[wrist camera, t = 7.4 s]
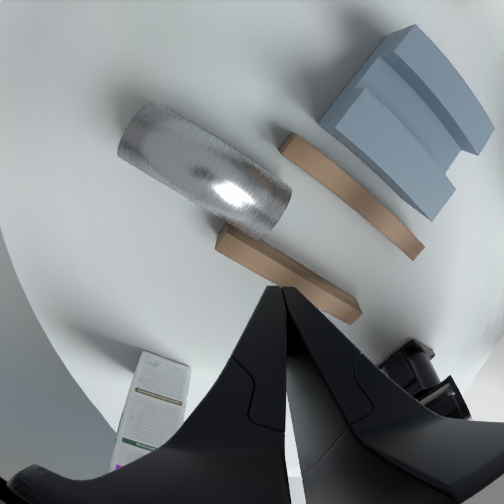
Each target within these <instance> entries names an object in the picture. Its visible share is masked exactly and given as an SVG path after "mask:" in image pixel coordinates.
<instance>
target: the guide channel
mask: <svg viewBox="0 0 504 504" xmlns="http://www.w3.org/2000/svg"><path fill="white" fill-rule="evenodd" d="M279 152H280V153H281V155H283V156H284V157H286V158H287V159H288V160H290V161H291V162H293V163H294V164H295V165H297V166H298V167H300V168H301V169H302V170H304V171H305V172H307V173H308V174H309V175H311V176H312V177H313V178H315V179H316V180H317V181H319V182H320V183H321V184H323V185H324V186H325V187H327V188H328V189H329V190H330V191H332V192H333V193H334V194H336V195H337V196H338V197H339V198H341V199H342V200H343V201H344V202H346V203H347V204H348V205H349V206H351V207H352V208H353V209H354V210H356V211H357V212H358V213H359V214H360V215H362V216H363V217H364V218H365V219H366V220H368V221H369V222H370V223H371V224H372V225H373V226H375V227H376V228H377V229H378V230H379V231H380V232H382V233H383V234H384V235H385V236H386V237H387V238H388V239H389V240H391V241H392V242H393V243H394V244H395V245H396V246H397V247H398V248H399V249H400V250H402V251H403V252H404V253H405V254H406V255H407V256H408V257H409V258H410V259H411V260H412V261H413V260H414V259H415V258H416V257H417V256H418V255H419V253H420V252H421V251H422V250H423V249H424V248H425V246H424V245H423V244H422V243H421V242H420V241H419V240H418V239H417V238H416V237H415V236H414V235H413V234H412V233H411V232H410V231H409V230H408V229H407V228H406V227H405V226H404V225H403V224H402V223H401V222H400V221H399V220H398V219H397V218H396V217H395V216H394V215H393V214H392V213H391V212H390V211H389V210H388V209H386V208H385V207H384V206H383V205H382V204H381V203H380V202H379V201H378V200H377V199H376V198H375V197H373V196H372V195H371V194H370V193H369V192H368V191H367V190H366V189H364V188H363V187H362V186H361V185H360V184H359V183H357V182H356V181H355V180H354V179H353V178H352V177H350V176H349V175H348V174H347V173H346V172H344V171H343V170H342V169H341V168H340V167H338V166H337V165H336V164H335V163H333V162H332V161H331V160H330V159H328V158H327V157H326V156H324V155H323V154H322V153H321V152H319V151H318V150H317V149H315V148H314V147H313V146H311V145H310V144H309V143H307V142H306V141H305V140H303V139H302V138H300V137H299V136H298V135H296V134H294V133H292V132H291V134H290V135H289V136H288V138H287V139H286V140H285V142H284V143H283V144H282V146H281V147H280V149H279ZM215 250H216V251H218V252H220V253H221V254H223V255H225V256H227V257H229V258H230V259H232V260H234V261H236V262H237V263H239V264H241V265H243V266H244V267H246V268H248V269H250V270H251V271H253V272H255V273H257V274H259V275H260V276H262V277H264V278H266V279H267V280H269V281H271V282H273V283H275V284H276V285H278V286H280V287H282V286H295V287H296V288H297V289H298V290H299V291H300V292H301V293H302V294H303V295H304V296H305V297H306V298H307V299H308V300H309V301H310V302H311V303H312V304H313V305H314V306H316V307H318V308H320V309H322V310H323V311H325V312H327V313H329V314H331V315H333V316H334V317H336V318H338V319H340V320H342V321H344V322H346V323H347V324H349V325H351V324H352V323H353V322H354V321H355V320H356V319H357V318H358V317H359V316H360V315H362V314H363V313H362V311H361V309H360V307H359V305H358V303H357V300H356V299H355V298H354V297H352V296H351V295H349V294H347V293H346V292H344V291H343V290H341V289H339V288H338V287H336V286H335V285H333V284H331V283H330V282H328V281H327V280H325V279H323V278H322V277H320V276H319V275H317V274H315V273H314V272H312V271H311V270H309V269H307V268H306V267H304V266H302V265H301V264H299V263H298V262H296V261H294V260H293V259H291V258H289V257H288V256H286V255H285V254H283V253H281V252H280V251H278V250H276V249H275V248H273V247H272V246H270V245H268V244H267V243H265V242H263V241H262V240H255V239H253V238H252V237H250V236H248V235H247V234H245V233H243V232H242V231H240V230H239V229H237V228H235V227H234V226H232V225H230V224H229V223H226V225H225V226H224V228H223V229H222V231H221V232H220V234H219V235H218V237H217V241H216V245H215Z"/></svg>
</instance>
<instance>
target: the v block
mask: <svg viewBox="0 0 504 504" xmlns="http://www.w3.org/2000/svg"><path fill="white" fill-rule="evenodd" d="M317 124H318V125H320V126H321V127H322V128H323V129H325V130H326V131H327V132H329V133H330V134H331V135H332V136H334V137H335V138H336V139H337V140H339V141H340V142H341V143H342V144H343V145H345V146H346V147H347V148H348V149H349V150H351V151H352V152H353V153H354V154H355V155H356V156H357V157H359V158H360V159H361V160H362V161H363V162H364V163H365V164H366V165H368V166H369V167H370V168H371V169H372V170H373V171H374V172H375V173H376V174H377V175H378V176H380V177H381V178H382V179H383V180H384V181H385V182H386V183H387V184H388V185H389V186H390V187H391V188H392V189H393V190H394V191H395V192H396V193H397V194H398V195H399V196H400V197H401V198H402V199H403V200H404V201H405V202H406V203H408V204H409V205H411V206H412V207H413V208H415V209H416V210H417V211H419V212H420V213H421V214H423V215H424V216H425V217H426V218H428V219H429V220H430V221H433V219H434V218H435V217H436V215H437V214H438V213H439V211H440V210H441V209H442V208H443V206H444V205H445V204H446V202H447V201H448V199H449V198H450V197H451V195H452V194H453V193H454V191H455V190H456V189H455V187H454V186H453V185H452V183H451V182H450V181H449V179H448V178H447V176H446V175H445V173H446V171H447V170H448V168H449V167H450V165H451V164H452V163H453V161H454V160H455V158H456V157H457V155H458V154H459V152H460V151H461V150H464V151H467V152H469V153H472V154H475V155H479V154H480V152H481V151H482V149H483V147H484V146H485V144H486V142H487V141H488V139H489V137H490V136H491V134H492V132H493V130H494V129H495V128H494V126H493V124H492V122H491V121H490V119H489V117H488V116H487V114H486V112H485V111H484V109H483V108H482V106H481V104H480V103H479V101H478V100H477V98H476V97H475V95H474V94H473V92H472V91H471V89H470V88H469V87H468V85H467V84H466V82H465V81H464V80H463V78H462V77H461V76H460V74H459V73H458V72H457V70H456V69H455V68H454V67H453V65H452V64H451V63H450V62H449V60H448V59H447V58H446V57H445V56H444V55H443V53H442V52H441V51H440V50H439V49H438V48H437V47H436V45H435V44H434V43H433V42H432V41H431V40H430V39H429V38H428V37H427V36H426V35H425V34H424V33H423V32H422V31H421V30H420V29H419V28H418V27H417V26H416V25H412V26H409V27H407V28H404V29H402V30H399V31H397V32H394V33H392V34H390V35H387V36H386V37H385V38H384V40H383V41H382V42H381V43H380V44H379V46H378V47H377V48H376V49H375V51H374V52H373V53H372V54H371V56H370V57H369V58H368V59H367V61H366V62H365V63H364V64H363V66H362V67H361V68H360V69H359V71H358V72H357V73H356V74H355V76H354V77H353V78H352V79H351V81H350V82H349V83H348V84H347V86H346V87H345V88H344V90H343V91H342V92H341V93H340V95H339V96H338V97H337V99H336V100H335V101H334V102H333V104H332V105H331V106H330V108H329V109H328V110H327V111H326V113H325V114H324V115H323V117H322V118H321V119H320V121H319V122H318V123H317Z"/></svg>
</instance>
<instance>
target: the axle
mask: <svg viewBox="0 0 504 504" xmlns="http://www.w3.org/2000/svg"><path fill="white" fill-rule="evenodd" d="M118 157H119V158H121V159H123V160H124V161H126V162H128V163H129V164H131V165H133V166H134V167H136V168H138V169H140V170H141V171H143V172H145V173H146V174H148V175H150V176H151V177H153V178H155V179H156V180H158V181H160V182H161V183H163V184H165V185H166V186H168V187H170V188H171V189H173V190H175V191H176V192H178V193H180V194H181V195H183V196H184V197H186V198H188V199H189V200H191V201H193V202H194V203H196V204H198V205H199V206H201V207H203V208H204V209H206V210H208V211H209V212H211V213H212V214H214V215H216V216H217V217H219V218H221V219H222V220H224V221H226V222H227V223H229V224H230V225H232V226H234V227H235V228H237V229H239V230H240V231H242V232H243V233H245V234H247V235H248V236H250V237H252V238H253V239H255V240H260V239H262V238H263V237H264V236H266V235H267V234H268V233H269V232H270V231H271V229H272V228H273V227H274V226H275V225H276V223H277V222H278V221H279V219H280V218H281V216H282V214H283V213H284V211H285V209H286V207H287V205H288V203H289V201H290V198H291V194H292V188H291V187H290V186H288V185H287V184H286V183H284V182H283V181H281V180H280V179H278V178H277V177H276V176H274V175H273V174H271V173H270V172H268V171H267V170H265V169H264V168H262V167H261V166H259V165H258V164H256V163H255V162H253V161H252V160H250V159H249V158H247V157H246V156H244V155H243V154H241V153H240V152H238V151H237V150H235V149H233V148H232V147H230V146H229V145H227V144H225V143H224V142H222V141H221V140H219V139H217V138H216V137H214V136H213V135H211V134H209V133H208V132H206V131H204V130H203V129H201V128H199V127H198V126H196V125H194V124H193V123H191V122H189V121H187V120H186V119H184V118H182V117H180V116H179V115H177V114H175V113H173V112H172V111H170V110H168V109H166V108H164V107H163V106H161V105H159V104H157V103H155V102H150V103H148V104H146V105H145V106H144V107H142V108H141V109H140V110H139V112H138V113H137V114H136V115H135V116H134V117H133V119H132V120H131V122H130V123H129V125H128V126H127V128H126V130H125V132H124V133H123V136H122V138H121V140H120V143H119V146H118Z"/></svg>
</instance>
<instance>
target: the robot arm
mask: <svg viewBox="0 0 504 504" xmlns="http://www.w3.org/2000/svg"><path fill="white" fill-rule="evenodd" d="M434 356H435V353H434V352H433V351H432V350H430V349H429V348H427V347H425V346H424V345H422V344H421V343H419V342H417V341H416V340H411V341H410V342H409V343H408V344H406V345H405V346H404V347H403V348H402V349H401V350H399V351H398V352H397V353H396V354H395V355H394V356H392V357H391V358H390V359H389V360H388V361H386V362H385V363H384V364H383V365H381V366H380V367H379V368H378V367H376V366H375V365H374V364H373V363H372V362H371V361H370V360H369V359H368V358H367V357H366V356H365V355H364V354H363V353H361V351H360V350H359V349H358V348H357V347H356V346H355V345H354V344H353V343H352V342H351V341H350V340H349V339H348V338H347V337H346V336H345V335H344V334H343V333H342V332H341V331H340V330H339V329H338V328H337V327H336V326H335V325H334V324H333V323H332V322H331V321H330V320H329V319H328V318H327V317H326V316H325V315H323V314H322V313H321V312H320V311H319V310H318V309H317V308H316V307H315V306H314V305H313V304H312V303H311V302H310V301H309V300H308V299H307V298H306V297H305V296H304V295H303V294H302V293H301V292H300V291H299V290H298V289H297V288H296V287H295V286H282V287H280V286H267V287H266V288H265V290H264V292H263V294H262V296H261V298H260V300H259V302H258V304H257V306H256V308H255V310H254V312H253V314H252V316H251V318H250V320H249V322H248V324H247V326H246V328H245V329H244V331H243V333H242V335H241V337H240V339H239V341H238V343H237V345H236V347H235V349H234V350H233V352H232V354H231V357H230V358H229V360H228V361H227V363H226V365H225V367H224V369H223V370H222V372H221V374H220V375H219V377H218V379H217V380H216V382H215V383H214V385H213V386H212V388H211V389H210V390H209V392H208V393H207V394H206V396H205V397H204V398H203V400H202V401H201V402H200V403H199V405H198V406H197V407H196V408H195V410H194V411H193V412H192V413H191V415H190V416H189V417H188V418H187V419H186V421H185V422H184V423H183V424H182V426H181V427H180V428H179V429H178V430H177V431H176V433H175V434H174V435H173V436H172V437H171V438H170V439H169V440H168V441H166V442H165V443H164V444H163V445H161V446H160V447H158V448H157V449H155V450H153V451H151V452H149V453H148V454H146V455H144V456H142V457H140V458H138V459H136V460H134V461H132V462H130V463H128V464H126V465H124V466H122V467H120V468H118V469H116V470H114V471H111V472H109V473H107V474H105V475H103V476H100V477H97V478H94V479H89V480H72V479H69V478H65V477H63V476H61V475H59V474H56V473H54V472H52V471H50V470H47V469H46V468H43V467H41V466H39V465H35V464H34V465H31V466H30V467H27V468H25V469H24V470H21V471H19V472H18V473H16V474H15V475H14V476H13V477H12V478H11V479H10V480H9V481H7V480H5V479H4V478H2V477H1V476H0V504H291V497H290V490H289V483H288V475H287V468H286V461H285V434H284V433H285V418H286V391H287V396H288V402H289V407H290V413H291V418H292V424H293V430H294V435H295V441H296V446H297V452H298V458H299V464H300V469H301V475H302V478H303V480H302V481H303V487H304V493H305V498H306V504H504V423H501V422H483V421H471V420H472V418H471V415H470V413H469V410H468V408H467V405H466V403H465V401H464V399H463V397H462V395H461V393H460V391H459V389H458V388H457V386H456V384H455V382H454V380H453V378H452V377H451V375H450V376H448V377H447V379H445V380H444V381H442V382H440V380H439V378H438V376H437V374H436V372H435V370H434V368H433V366H432V364H431V362H430V360H431V359H432V358H433V357H434ZM453 393H454V395H453Z"/></svg>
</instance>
